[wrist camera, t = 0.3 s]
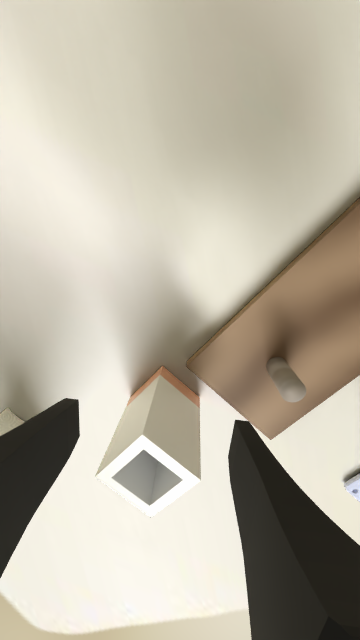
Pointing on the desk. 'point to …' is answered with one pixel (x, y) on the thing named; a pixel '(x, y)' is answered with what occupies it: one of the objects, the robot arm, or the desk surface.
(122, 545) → the desk surface
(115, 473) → the sleeve
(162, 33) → the desk surface
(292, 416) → the pin board
